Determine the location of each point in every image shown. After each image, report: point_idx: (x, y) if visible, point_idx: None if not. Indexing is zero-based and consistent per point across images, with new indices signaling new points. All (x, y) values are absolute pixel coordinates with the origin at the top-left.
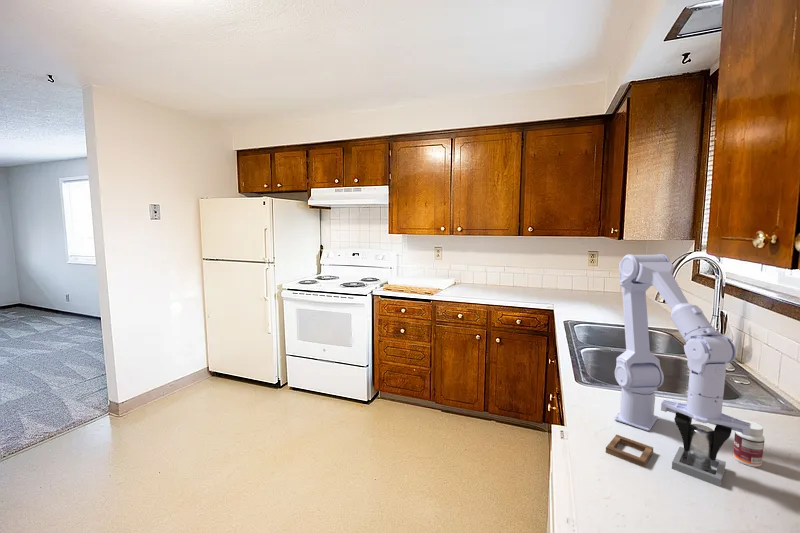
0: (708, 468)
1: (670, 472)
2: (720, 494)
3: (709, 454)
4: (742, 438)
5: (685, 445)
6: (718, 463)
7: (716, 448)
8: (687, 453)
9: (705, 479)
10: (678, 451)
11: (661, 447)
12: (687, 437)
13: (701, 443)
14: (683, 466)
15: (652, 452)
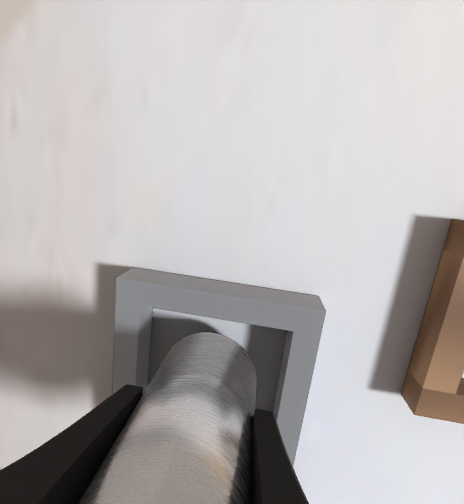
0: (169, 352)
1: (324, 255)
2: (130, 204)
3: (137, 405)
4: None
5: (270, 435)
6: None
7: (63, 443)
8: None
9: (183, 276)
10: (295, 433)
11: (360, 459)
12: (262, 500)
13: (155, 455)
14: (272, 302)
15: (406, 386)
